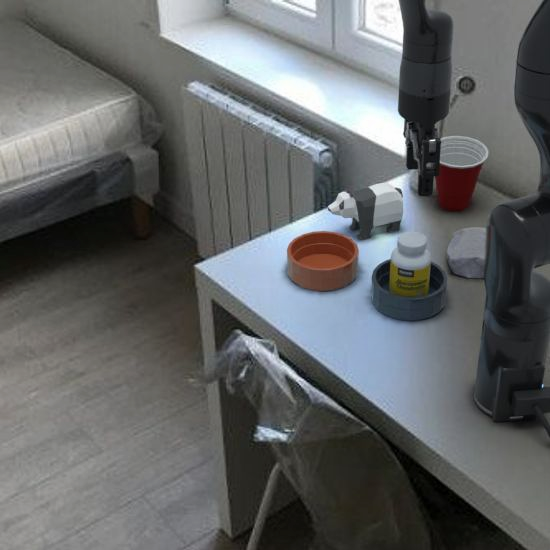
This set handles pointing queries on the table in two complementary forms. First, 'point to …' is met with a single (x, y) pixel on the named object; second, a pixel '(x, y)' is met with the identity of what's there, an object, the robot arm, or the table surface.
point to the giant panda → (370, 208)
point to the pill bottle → (410, 266)
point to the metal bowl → (408, 305)
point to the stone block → (467, 252)
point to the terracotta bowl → (322, 260)
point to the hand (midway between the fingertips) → (418, 181)
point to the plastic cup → (459, 171)
